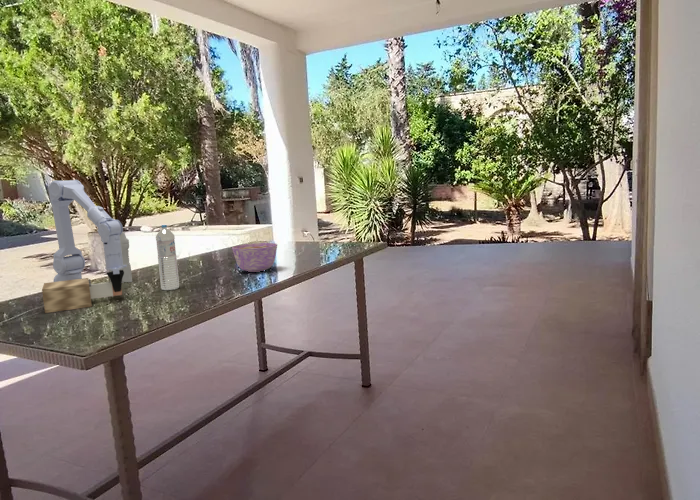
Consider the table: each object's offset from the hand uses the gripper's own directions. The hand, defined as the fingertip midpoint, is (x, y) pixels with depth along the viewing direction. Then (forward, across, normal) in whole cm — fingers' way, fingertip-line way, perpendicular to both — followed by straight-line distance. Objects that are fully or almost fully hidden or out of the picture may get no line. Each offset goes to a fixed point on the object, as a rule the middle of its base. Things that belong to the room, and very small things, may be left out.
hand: (117, 291), depth 190 cm
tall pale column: (+3, +37, -4) cm, 37 cm away
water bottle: (+3, +6, -19) cm, 20 cm away
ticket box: (+3, 0, +16) cm, 16 cm away
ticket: (+1, 0, +8) cm, 8 cm away
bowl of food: (+3, +20, -58) cm, 62 cm away
